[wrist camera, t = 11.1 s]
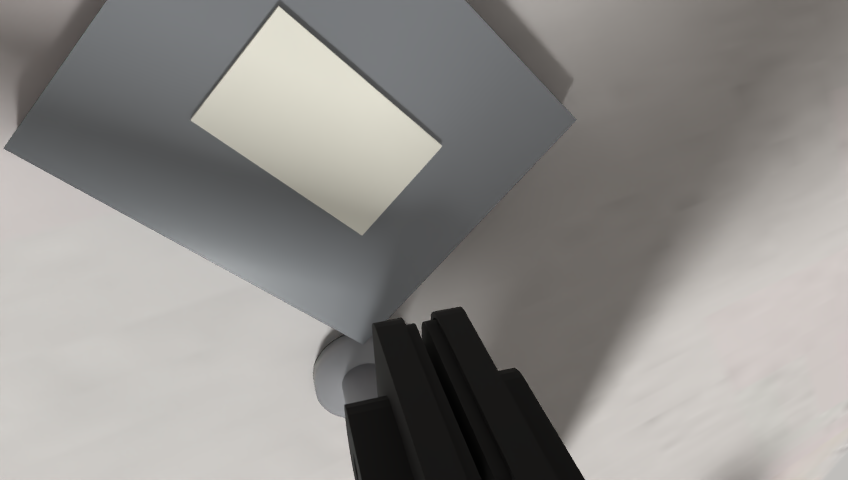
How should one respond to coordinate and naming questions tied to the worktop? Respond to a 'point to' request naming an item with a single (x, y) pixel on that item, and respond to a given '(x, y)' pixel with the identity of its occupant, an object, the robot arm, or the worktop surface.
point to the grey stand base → (299, 144)
